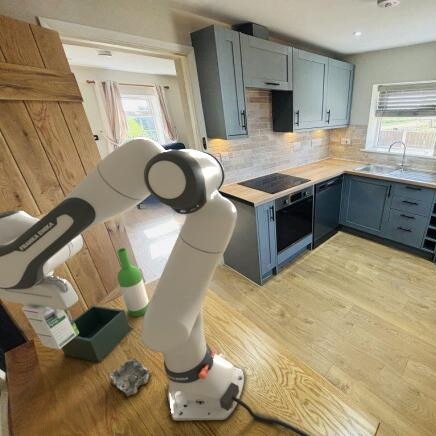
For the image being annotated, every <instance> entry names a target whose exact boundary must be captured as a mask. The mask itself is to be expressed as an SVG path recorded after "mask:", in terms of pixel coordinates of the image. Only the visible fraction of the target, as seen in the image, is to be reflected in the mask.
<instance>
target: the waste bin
mask: <svg viewBox="0 0 436 436" xmlns="http://www.w3.org/2000/svg"><path fill="white" fill-rule="evenodd" d="M73 321H74V323H75V325H76V327H77V329H78V331H79V334H78V335H77V336H75V337H74V338H73V339H72V340H70V341H69V342H68V343H67V344H65V345H64V346H63V347H62V348H61V349H62V351H63V354H64V355H65V356H68V357H73V358H78V359H83V360H88V361H93V362H97V363H100V362H101V361H102V360H103V359H104V358H105V357H106V355H108V354H109V353H110V352H111V350H113V348H114V347H115V346H117V344H118V343H119V342H120V341H121V340H122V339H123V338H124V337H125V336H126V335H127V334H128V333H129V332H130V331H131V330H132V329H131V326H130V323H129V320H128V317H127V313H126V311H125V310H124V309H119V308H113V307H107V306H102V305H95V304H93V305H91V306H90V307H89V308H87V309H86V310H84V312H82V313H81V314H79V315H78V316H77V317H76V318H75V319H73Z"/></svg>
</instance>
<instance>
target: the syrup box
mask: <svg viewBox="0 0 436 436" xmlns="http://www.w3.org/2000/svg"><path fill="white" fill-rule="evenodd" d="M21 310H22V312H23V314H24V315H25V317H26V318H27V321H28V322H29V324H30V325H31V327H32V329H33V330H34V332H35V334H36V336H37V337H38V339H39V341H40V342H41V344H42V346H44V347H46V348H49V349H50V348H51V349H55V350H61V349H62V347H63V346H64V345H65V344H67V343H68V342H69V341H70V340H72V339H73V338H74V337H75V336H77V335H78V334H79V331H78V329H77V327H76V325H75V323H74V321H73V320H74V319H73V317H72V315H71V313H70V310H69V308H68V309H67V310H64V312H65V315H64V316H63V317H61V318H54V316H53V315H52V313H53V312H54V310H53V309H52V308H48V307H41V306H35V305H29V304H28V305H26V306H24V305H23V306H22V307H21Z"/></svg>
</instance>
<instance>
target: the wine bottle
mask: <svg viewBox="0 0 436 436" xmlns="http://www.w3.org/2000/svg"><path fill="white" fill-rule="evenodd" d="M116 252H117V256H118V260H119V263H120V266H121V268H120V270H119V271H118V273H117V282H118V284H119V289H120V292H121V294H122V297H123V300H124V303H125V306H126V309H127V312H128V314H129V315H130V317H140V316H142V315H145V312H146V310H147V308H148V305H149V303H150V300H149V298H148V297H149V296H148V294H147V291H146V288H145V287H146V286H145V283H144V280H143V276H142V272H141V270H140V269H139V268H138V267H137V266H136V265H132V264H131V260H130V257H129V254H128V251H127V248H125V247H122V248H119V249H117V250H116Z"/></svg>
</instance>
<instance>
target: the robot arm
mask: <svg viewBox="0 0 436 436" xmlns="http://www.w3.org/2000/svg"><path fill="white" fill-rule="evenodd" d="M225 178H226V171H225V167H224V166H223V163H222V162H221V161H220V160H219V159H218V158H217V156H214V154H212V153H209V152H206V151H198V150H195V149H189V148H188V149H167V150H166V149H165V148H164V146H162V145H161V144H159V143H158V142H156V141H154V140H152V139H150V138H146V137H135V138H133V139H130V140H128V141H127V142H125V143H123V144H122V145H120V146H118V147H117V148H115V149H113V150H112V151H111V152H110V153H109V154H107V155H106V156H105V157H104V158H102V160H101V161H99V162H98V163H97V164H96V165H95V166H94V167H93V168H92V169H91V170H90V171H89V172H88V173H87V174H86V175H85V176H84V177H83V178H82V179H81V180H80V182H79V183H78V184H77V185H76V186H74V188H73V189H72V190H71V191H70V192H69V193H68V194H67V195H66V196H65V197H64V198H62V200H60V202H59V203H58V204H56V206H54V208H52V209H51V210H50V211H49V212H48V213H47V214H45V215H44V216H42V218H36V217H33V216H31V215H29V214H28V213H26V212H25V211H22V210H15V209H14V210H8V211H7V210H6V211H3V212H0V298H1V299H2V300H4V301H6V302H10V303H16V304H17V303H18V304H22V305H23V307H24V306H26V305H28V304H29V305H35V306H41V307H48V308H52V309H53V310H54V312H53V313H52V315H53V316H54V318H61V317H63V316H64V315H65V312H64V310H67V309H68V310H69V309H70V308H71V307H73V306H74V305H75V304H77V303H78V301H79V296H78V294H77V293H76V291H75V289H74V288H73V286H72V284H71V283H70V281H68V280H67V279H64V278H61V277H60V276H57V275H54V272H55V270H56V269H57V268H58V267H60V266H61V265H63V264H64V263H65V262H67V261H68V260H70V259H72V258H73V257H74V256H75V255H76V254H78V253H79V252H81V250H82V249H83V247H84V244H85V240H84V237H83V235H82V234H84V233H86V232H88V231H89V230H92V229H93V228H95V227H98V226H99V225H102V224H103V223H105V222H108V221H110V220H112V219H114V218H117V217H118V216H120V215H123V214H124V213H126V212H128V211H130V210H132V209H134V208H135V207H136V206H138V205H139V204H141V203H142V202H143V201H144V200H146V199H147V198H148V197H149V196H151V195H152V196H153V197H154V199H156V200H157V201H159V202H160V203H162V204H164V205H166V206H168V207H170V208H171V209H172V211H174V212H175V213H177V214H180V215H185V219H184V222H183V224H182V226H181V229H180V231H179V233H178V236H177V238H176V240H175V242H174V244H173V247H172V249H171V252H170V254H169V256H168V258H167V261H166V263H165V265H164V268H163V271H162V273H161V275H160V277H159V279H158V281H157V284H156V285H155V289H154V291H153V293H152V296H151V298H150V300H149V305H148V308H147V310H146V312H145V313H144V314H143V318H142V323H141V333H140V339H141V343H142V344H143V346H144V347H145V348H146V349H148V350H149V351H151V352H154V353H161V354H162V357H163V367H164V373H165V375H166V377H167V378H168V390H167V400H168V403H169V405H170V409H171V410H170V412H171V418H172V420H173V421H176V422H177V421H224V420H226V419H228V417H230V416H231V414H232V413H233V411H234V410H235V408H236V407H237V404H238V405H240V406H242V407H243V408H244V409H245V410H246V411H247V412H248V414H249V415H250V416H251V417H252V418H253V419H256V420H258V421H261V422H265V423H271V424H276V425H278V426H282V427H284V428H285V429H288V430H290V431H292V432H294V433H295V434H297V435H299V436H311V435H310V434H308V433H306V432H304V431H302V430H301V429H299V428H297V427H295V426H293V425H291V424H289V423H287V422H285V421H282V420H280V419H276V418H272V417H266V416H262V415H259V414H257V413H255V412H254V411H253V410H252V408H251V407H250V406H249V405H248V404H247V403H245V402H244V401H242V400H241V399H240V397H241V394H242V392H243V388H244V383H245V382H244V381H245V377H244V376H245V375H244V372H243V369H240V368H238V367H235V366H234V364H233V363H231V362H230V361H228V360H227V359H226V355H225V354H224V353H219V354H217V351H216V348H214V349H213V350H212V349H211V347H210V346H209V344H208V343H207V342H206V334H205V329H204V313H203V312H204V311H203V303H204V301H205V298H206V295H207V292H208V290H209V287H210V285H211V282H212V279H213V276H214V274H215V272H216V269H218V266H219V264H220V262H221V260H222V257H223V255H224V253H225V251H226V249H227V247H228V246H229V244H230V241H231V238H232V236H233V233H234V230H235V227H236V223H237V219H238V210H237V208H236V206H235V205H234V203H233V202H232V201H231V200H230V199H228V198H226V197H224V196H222V194H221V193H220V192H219V190H220V189H221V188H222V186H223V184H224V182H225ZM53 275H54V276H53Z"/></svg>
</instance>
